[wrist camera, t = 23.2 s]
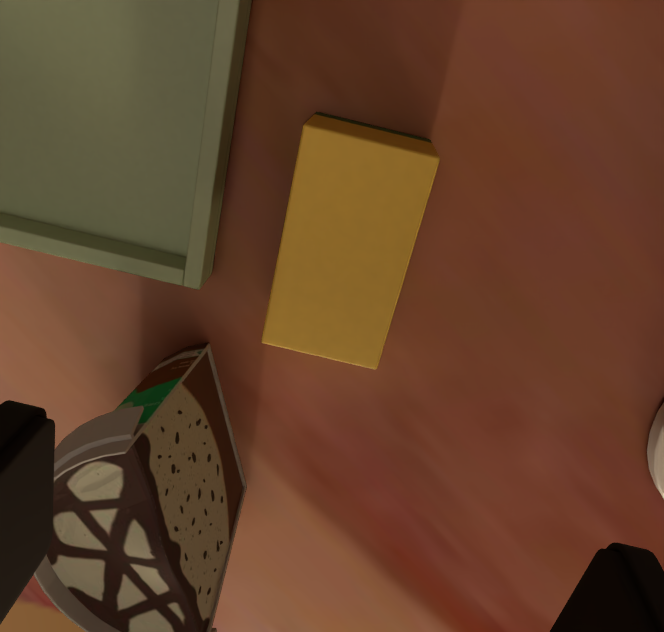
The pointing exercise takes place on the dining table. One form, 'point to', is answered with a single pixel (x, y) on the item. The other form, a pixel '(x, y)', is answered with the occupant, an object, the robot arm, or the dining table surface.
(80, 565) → the food container
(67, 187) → the tray
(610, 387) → the dining table surface
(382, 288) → the sponge
